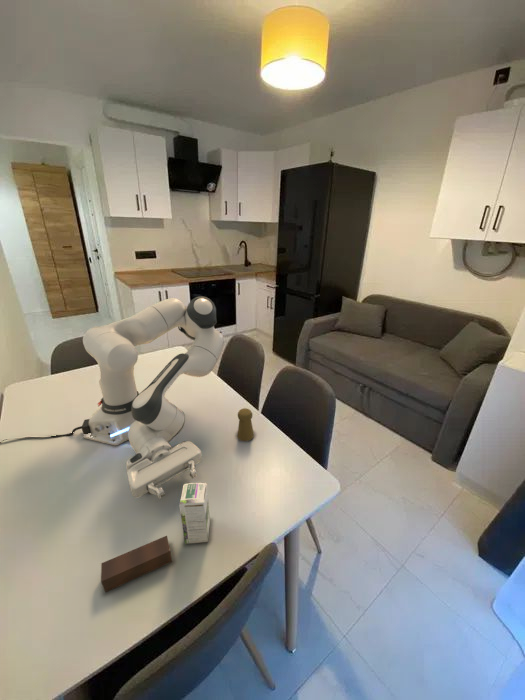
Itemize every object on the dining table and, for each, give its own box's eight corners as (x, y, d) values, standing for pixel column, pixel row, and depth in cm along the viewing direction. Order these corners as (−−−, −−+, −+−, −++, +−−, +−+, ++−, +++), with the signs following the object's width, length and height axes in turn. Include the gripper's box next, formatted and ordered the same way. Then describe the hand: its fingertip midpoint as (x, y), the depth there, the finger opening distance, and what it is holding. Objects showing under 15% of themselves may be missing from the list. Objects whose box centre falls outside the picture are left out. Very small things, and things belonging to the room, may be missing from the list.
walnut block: (105, 592, 62) (100, 581, 60) (105, 573, 65) (101, 563, 64) (172, 561, 67) (169, 551, 66) (169, 545, 71) (166, 535, 69)
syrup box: (188, 522, 76) (182, 483, 70) (211, 520, 77) (206, 481, 71) (184, 544, 71) (177, 504, 65) (209, 542, 71) (204, 502, 65)
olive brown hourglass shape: (251, 442, 103) (251, 417, 99) (235, 439, 104) (234, 415, 100) (255, 431, 109) (255, 407, 104) (239, 428, 110) (238, 405, 105)
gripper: (190, 446, 93) (213, 472, 84) (124, 481, 81) (143, 516, 72) (188, 431, 91) (211, 456, 81) (119, 465, 79) (138, 499, 69)
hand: (178, 484), depth 76 cm, fingers open, 8 cm apart
